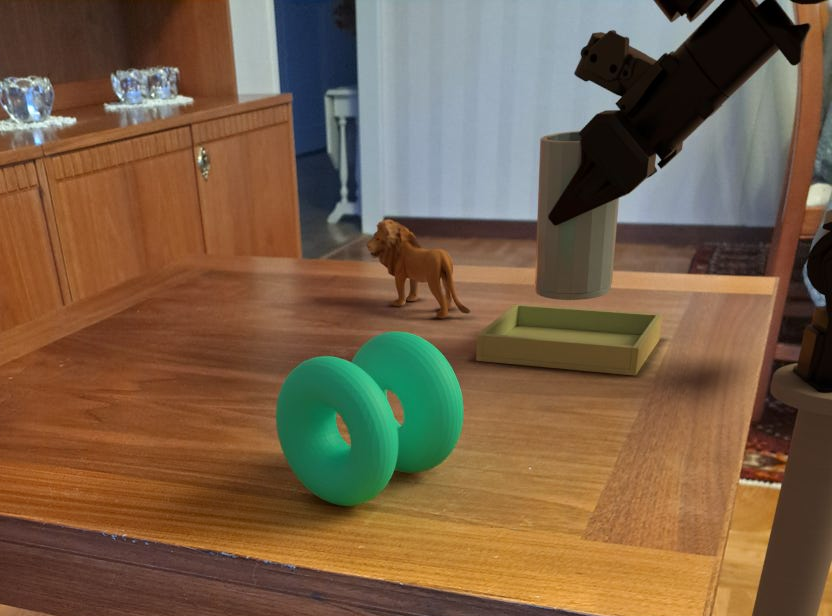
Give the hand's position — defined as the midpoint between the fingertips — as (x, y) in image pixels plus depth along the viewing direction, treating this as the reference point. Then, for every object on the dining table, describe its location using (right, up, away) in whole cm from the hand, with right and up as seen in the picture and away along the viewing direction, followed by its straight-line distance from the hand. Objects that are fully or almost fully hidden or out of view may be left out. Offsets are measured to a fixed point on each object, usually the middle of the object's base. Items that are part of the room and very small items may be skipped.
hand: (561, 214), depth 86 cm
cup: (+2, -6, +3) cm, 7 cm away
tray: (+2, -10, +7) cm, 13 cm away
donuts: (-18, -28, -19) cm, 38 cm away
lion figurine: (-12, -1, +23) cm, 26 cm away
